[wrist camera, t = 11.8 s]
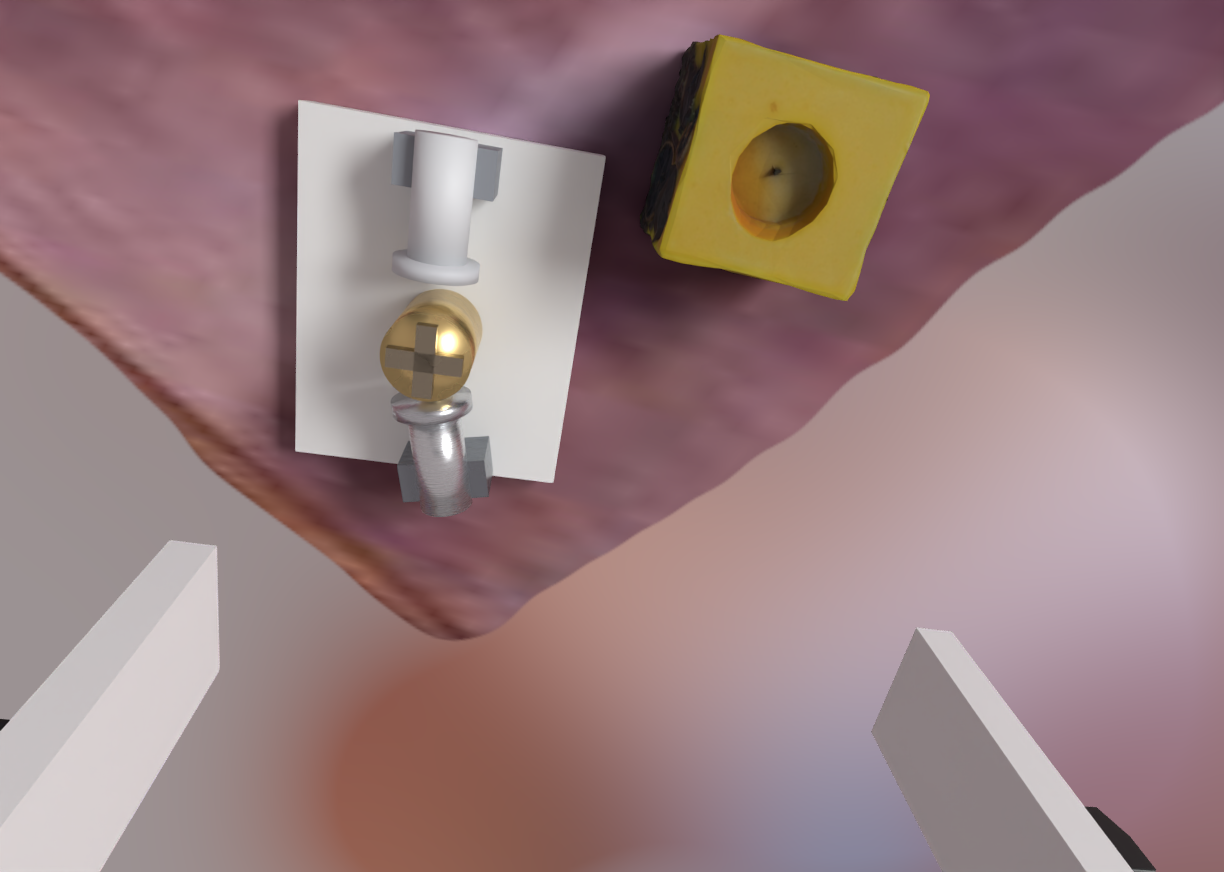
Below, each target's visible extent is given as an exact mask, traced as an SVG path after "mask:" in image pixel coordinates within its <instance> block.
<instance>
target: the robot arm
mask: <svg viewBox="0 0 1224 872" xmlns="http://www.w3.org/2000/svg"><path fill="white" fill-rule="evenodd" d="M218 625H219V622H218V576H217V546H215V545H206V544H196V543H189V542H180V541H171V540H170V541H169V542H168V543H167V544H166V545H165V546H164V547H163V548H162V550H161V551H160V552H159V553H158V554H157V555H156V556H155V557H154V559H153V560H152V561H151V562H150V563H149V564H148V565H147V566H146V568H145V569H144V570H143V571H142V572H141V573H140V574H139V575H138V577H137V578H136V579H135V580H134V581H133V582H132V583H131V585H130V586H129V587H128V588H127V589H126V590H125V591H124V592H123V594H122V595H121V596H120V597H119V598H118V599H117V600H116V601H115V603H114V604H113V605H112V606H111V607H110V608H109V609H108V610H107V612H106V613H105V614H104V615H103V616H102V617H101V619H99V621H98V622H97V623H96V624H95V625H94V626H93V627H92V629H91V630H90V631H89V632H88V633H87V634H86V635H85V637H84V638H83V639H82V640H81V641H80V642H79V643H78V644H77V645H76V646H75V648H74V649H73V650H72V651H71V652H70V653H69V654H68V656H67V657H66V658H65V659H64V660H63V661H62V662H61V663H60V665H59V666H58V667H57V668H56V669H55V670H54V671H53V673H52V674H51V675H50V676H49V677H48V678H47V679H46V680H45V682H44V683H43V684H42V685H41V686H40V687H39V688H38V689H37V691H36V692H35V693H34V694H33V695H32V696H31V697H30V698H29V700H28V701H27V702H26V703H25V704H24V705H23V706H22V707H21V708H20V710H19V711H18V712H17V713H16V714H15V715H14V716H13V718H12V719H11V720H5V719H0V872H100V871H101V869H102V867H103V866H104V864H105V862H106V861H107V859H108V857H109V855H110V854H111V852H112V850H113V849H114V847H115V845H116V843H117V842H118V840H119V838H120V837H121V835H122V834H123V832H124V830H125V828H126V827H127V825H128V823H129V822H130V820H131V818H132V817H133V815H134V813H135V812H136V810H137V808H138V807H139V805H140V803H141V801H142V800H143V798H144V797H145V795H146V793H147V791H148V790H149V788H150V786H151V785H152V783H153V781H154V780H155V778H156V776H157V775H158V773H159V771H160V770H161V768H162V766H163V764H164V763H165V761H166V759H167V758H168V756H169V754H170V753H171V751H172V749H173V747H174V746H175V744H176V743H177V741H178V739H179V738H180V736H181V734H182V733H183V730H184V729H185V727H186V726H187V724H188V722H189V721H190V719H191V717H192V716H193V714H194V712H195V711H196V709H197V707H198V706H199V704H200V702H201V700H202V699H203V697H204V696H205V694H206V692H207V690H208V689H209V687H210V685H211V684H212V682H213V680H214V679H215V677H216V675H217V674H218V672H219V669H220V668H219V626H218ZM871 732H872V734H873V736H874V738H875V740H876V742H877V744H878V746H879V748H880V750H881V752H882V754H883V756H884V758H885V760H886V761H887V764H888V766H889V768H890V770H891V772H892V774H893V776H894V778H895V779H896V781H897V784H898V786H899V787H900V789H901V791H902V793H903V795H904V797H905V799H906V801H907V803H908V805H909V807H910V809H911V811H912V813H913V815H914V817H915V819H916V821H917V823H918V825H919V826H920V829H921V831H922V833H923V835H924V837H925V839H926V840H927V843H928V845H929V846H930V849H931V851H932V853H933V854H934V856H935V858H936V860H937V862H938V864H939V866H940V868H941V870H942V872H1156V869H1155V868H1154V866H1153V865H1152V864H1151V863H1150V861H1149V860H1148V859H1147V857H1146V856H1145V855H1144V854H1143V853H1142V851H1141V850H1140V849H1139V847H1138V846H1137V845H1136V844H1135V842H1134V841H1133V840H1132V839H1131V837H1130V836H1129V835H1128V834H1126V833H1125V832H1124V831H1123V830H1122V829H1121V828H1119V827H1118V826H1117V825H1116V824H1115V823H1114V822H1113V821H1112V820H1110V819H1109V818H1108V817H1107V816H1106V815H1104V814H1103V813H1102V812H1101V811H1100V810H1099V809H1098V808H1097V807H1085V806H1084V805H1083V804H1082V803H1081V802H1080V800H1079V799H1078V798H1077V796H1076V795H1075V794H1074V793H1073V791H1072V790H1071V788H1070V787H1069V786H1068V784H1067V783H1066V782H1065V781H1064V779H1063V778H1062V776H1061V775H1060V774H1059V773H1058V771H1057V770H1056V769H1055V767H1054V766H1053V765H1052V763H1051V762H1050V761H1049V759H1048V758H1047V757H1046V755H1045V754H1044V753H1043V752H1042V750H1041V749H1040V748H1039V746H1038V745H1037V744H1036V742H1035V741H1034V740H1033V738H1032V737H1031V736H1030V734H1029V733H1028V732H1027V730H1026V729H1025V728H1024V727H1023V725H1022V724H1021V722H1020V721H1019V720H1018V718H1017V717H1016V716H1015V714H1014V713H1013V712H1012V711H1011V709H1010V708H1009V707H1008V705H1007V704H1006V703H1005V701H1004V700H1003V699H1002V697H1001V696H1000V695H999V693H998V692H997V691H996V689H995V688H994V687H993V685H992V684H991V683H990V682H989V680H988V679H987V678H986V676H985V675H984V674H983V672H982V671H981V670H980V668H979V667H978V666H977V664H976V663H975V662H974V660H973V659H972V658H971V656H970V655H969V654H968V653H967V651H966V650H965V649H964V648H963V646H962V645H961V643H960V642H959V641H958V639H957V638H956V637H955V635H954V634H953V633H952V632H950V631H941V630H932V629H924V628H916V630H915V632H914V634H913V637H912V639H911V641H910V644H909V646H908V648H907V650H906V653H905V655H904V657H903V660H902V662H901V664H900V667H899V669H898V671H897V674H896V676H895V678H894V680H893V683H892V685H891V687H890V690H889V692H888V694H887V697H886V699H885V701H884V703H883V706H882V708H881V710H880V713H879V715H878V717H877V719H876V722H875V724H874V726H873V729H872V731H871Z"/></svg>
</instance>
